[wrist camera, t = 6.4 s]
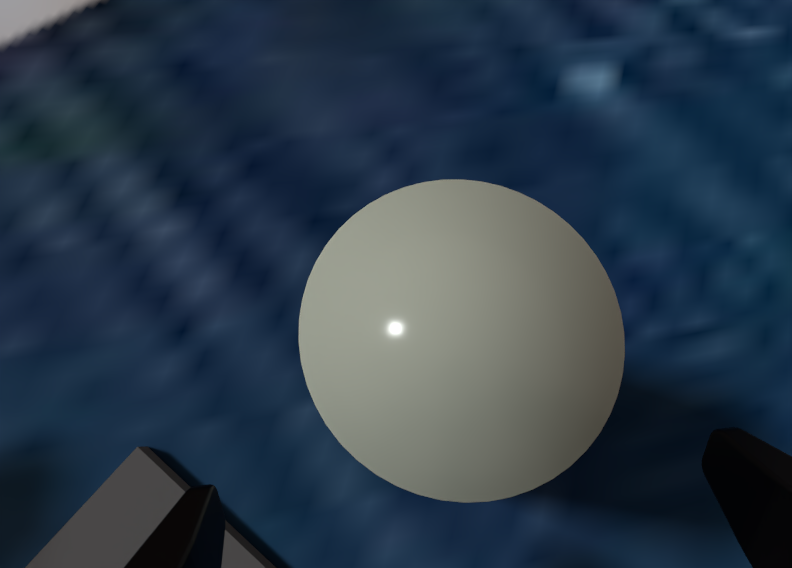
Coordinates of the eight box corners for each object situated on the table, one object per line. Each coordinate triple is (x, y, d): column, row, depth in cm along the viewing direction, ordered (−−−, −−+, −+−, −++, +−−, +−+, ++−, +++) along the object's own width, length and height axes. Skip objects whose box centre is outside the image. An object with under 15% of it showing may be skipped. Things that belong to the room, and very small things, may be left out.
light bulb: (516, 379, 20) (683, 305, 9) (426, 501, 18) (500, 584, 8) (402, 288, 20) (435, 125, 10) (307, 399, 19) (227, 347, 8)
